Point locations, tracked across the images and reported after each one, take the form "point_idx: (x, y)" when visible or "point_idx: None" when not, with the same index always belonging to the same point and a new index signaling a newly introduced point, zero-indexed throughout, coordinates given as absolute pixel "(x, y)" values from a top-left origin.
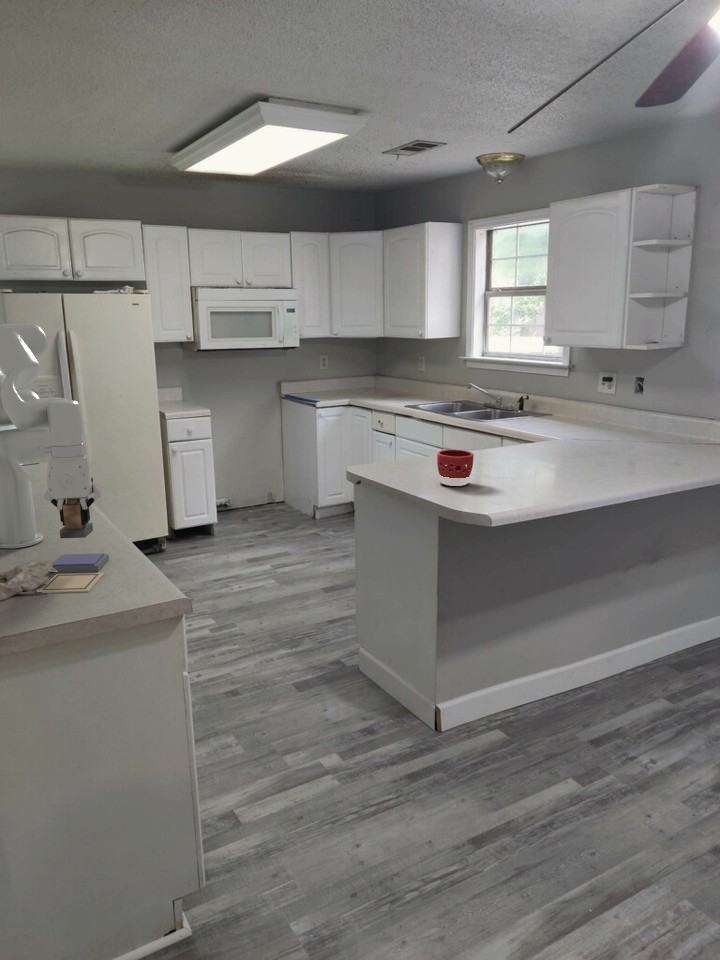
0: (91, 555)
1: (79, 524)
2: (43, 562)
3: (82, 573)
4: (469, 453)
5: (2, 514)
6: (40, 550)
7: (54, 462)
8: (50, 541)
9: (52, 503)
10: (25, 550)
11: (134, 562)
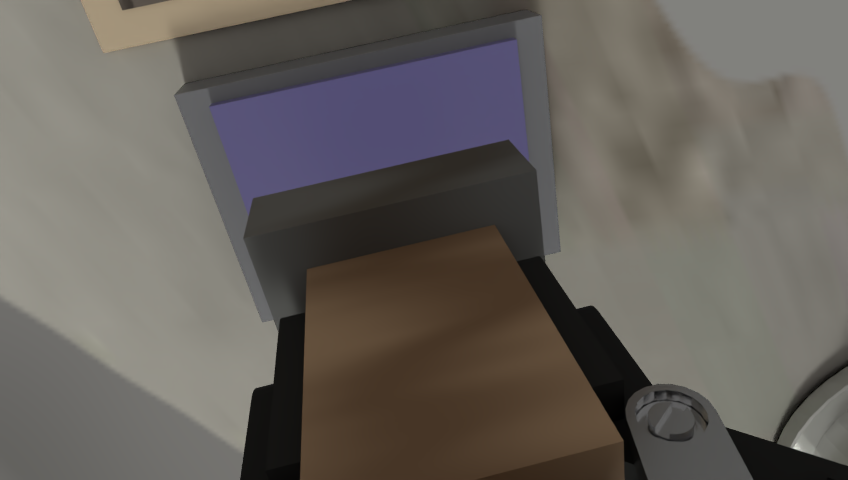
0: None
1: (326, 292)
2: (648, 197)
3: (262, 9)
4: None
5: None
6: (736, 357)
7: None
8: None
9: (845, 469)
10: (812, 343)
11: (67, 292)
